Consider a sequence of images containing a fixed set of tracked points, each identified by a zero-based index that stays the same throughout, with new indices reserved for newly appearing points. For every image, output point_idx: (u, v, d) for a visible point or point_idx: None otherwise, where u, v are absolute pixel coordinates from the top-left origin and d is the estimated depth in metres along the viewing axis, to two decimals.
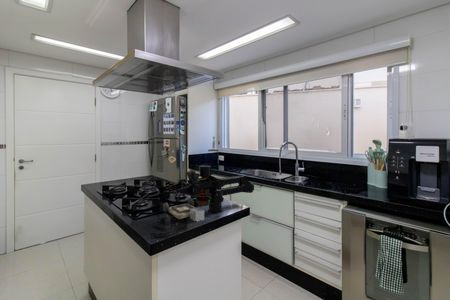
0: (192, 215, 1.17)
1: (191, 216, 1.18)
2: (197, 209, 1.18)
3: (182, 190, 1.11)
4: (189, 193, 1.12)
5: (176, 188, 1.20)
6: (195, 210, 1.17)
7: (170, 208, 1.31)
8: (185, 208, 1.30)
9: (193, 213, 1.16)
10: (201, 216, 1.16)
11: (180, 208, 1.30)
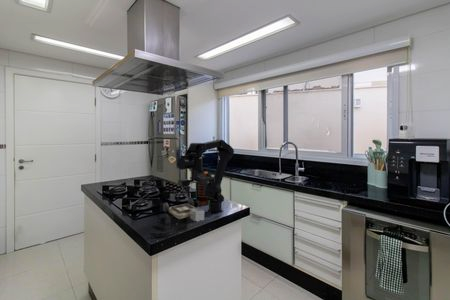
0: (192, 215, 1.17)
1: (191, 216, 1.18)
2: (197, 209, 1.18)
3: None
4: None
5: None
6: (195, 210, 1.17)
7: (170, 208, 1.31)
8: (185, 208, 1.30)
9: (193, 213, 1.16)
10: (201, 216, 1.16)
11: (180, 208, 1.30)
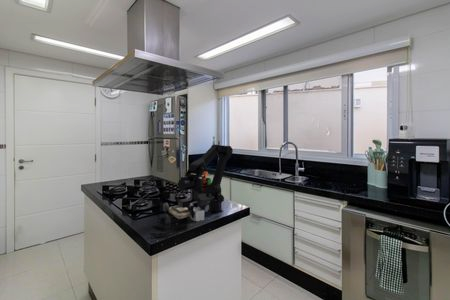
0: None
1: None
2: (197, 209, 1.18)
3: None
4: None
5: None
6: (195, 210, 1.17)
7: (170, 208, 1.31)
8: (185, 208, 1.30)
9: (193, 213, 1.16)
10: (201, 215, 1.16)
11: (180, 208, 1.30)
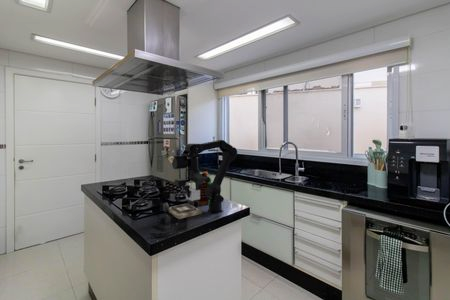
0: None
1: None
2: (193, 189, 1.21)
3: None
4: None
5: None
6: (191, 189, 1.19)
7: (170, 208, 1.31)
8: (185, 208, 1.30)
9: (189, 193, 1.18)
10: (197, 195, 1.18)
11: (180, 208, 1.30)
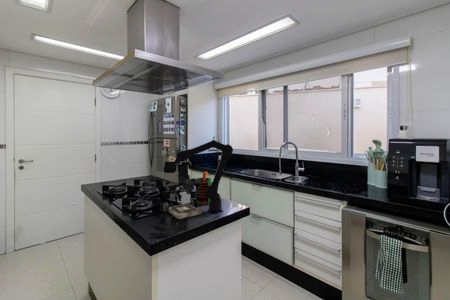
0: None
1: None
2: (184, 193, 1.29)
3: None
4: None
5: None
6: (182, 194, 1.27)
7: (170, 208, 1.31)
8: (185, 208, 1.30)
9: (180, 197, 1.26)
10: (187, 199, 1.26)
11: (180, 208, 1.30)
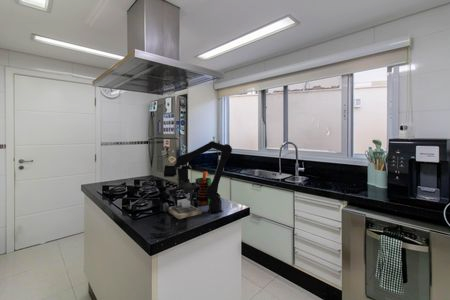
0: (179, 206, 1.27)
1: (178, 206, 1.29)
2: (184, 200, 1.29)
3: None
4: None
5: None
6: (182, 201, 1.27)
7: (170, 208, 1.31)
8: None
9: (180, 204, 1.27)
10: (187, 206, 1.27)
11: None
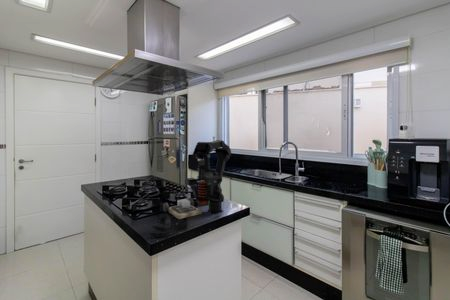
0: (179, 206, 1.27)
1: (178, 206, 1.29)
2: (184, 200, 1.29)
3: None
4: None
5: None
6: (182, 201, 1.27)
7: (170, 208, 1.31)
8: None
9: (180, 204, 1.27)
10: (187, 206, 1.27)
11: None
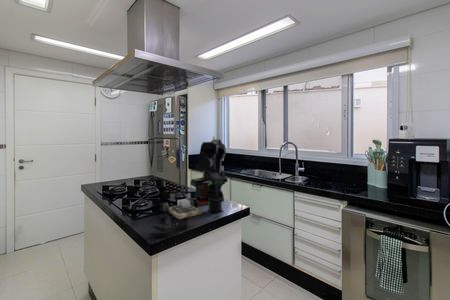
0: (179, 206, 1.27)
1: (178, 206, 1.29)
2: (184, 200, 1.29)
3: None
4: None
5: None
6: (182, 201, 1.27)
7: (170, 208, 1.31)
8: None
9: (180, 204, 1.27)
10: (187, 206, 1.27)
11: None
